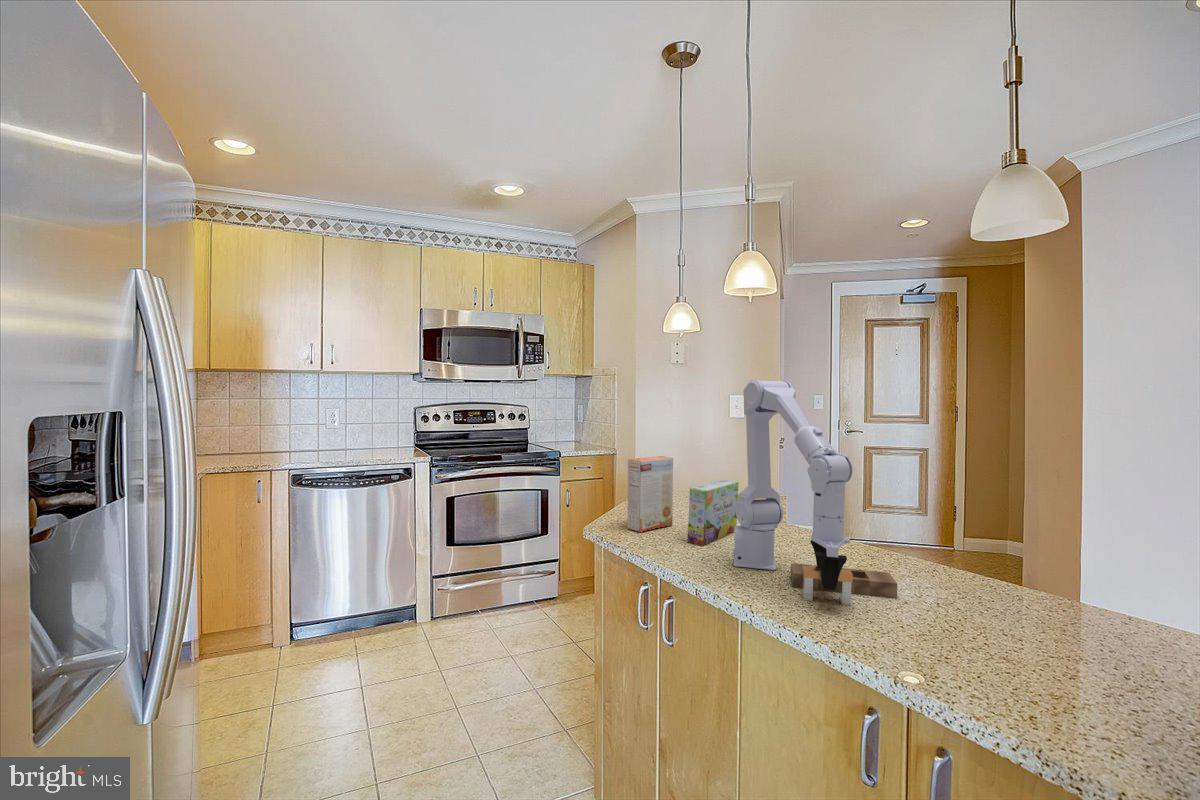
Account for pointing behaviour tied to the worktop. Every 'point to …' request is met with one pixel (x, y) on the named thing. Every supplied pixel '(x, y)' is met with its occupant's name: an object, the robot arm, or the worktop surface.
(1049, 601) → the worktop surface
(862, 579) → the brown wooden peg board
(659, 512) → the cracker box
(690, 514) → the snack box
